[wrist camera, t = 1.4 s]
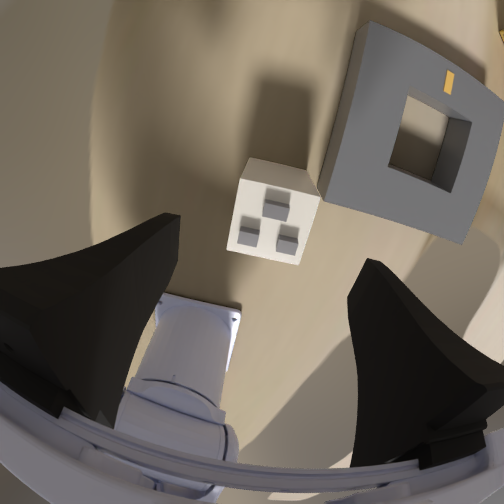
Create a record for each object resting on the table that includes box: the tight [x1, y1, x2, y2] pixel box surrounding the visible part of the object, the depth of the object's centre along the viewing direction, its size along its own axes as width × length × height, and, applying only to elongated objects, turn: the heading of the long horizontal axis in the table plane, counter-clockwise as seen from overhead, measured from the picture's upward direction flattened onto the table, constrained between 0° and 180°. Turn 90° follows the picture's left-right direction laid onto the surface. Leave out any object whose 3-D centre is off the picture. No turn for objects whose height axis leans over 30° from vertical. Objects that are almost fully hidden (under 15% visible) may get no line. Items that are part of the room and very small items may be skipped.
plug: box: [226, 157, 321, 265], centre depth 16 cm, size 4×4×7 cm
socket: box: [317, 20, 504, 245], centre depth 15 cm, size 12×12×3 cm
